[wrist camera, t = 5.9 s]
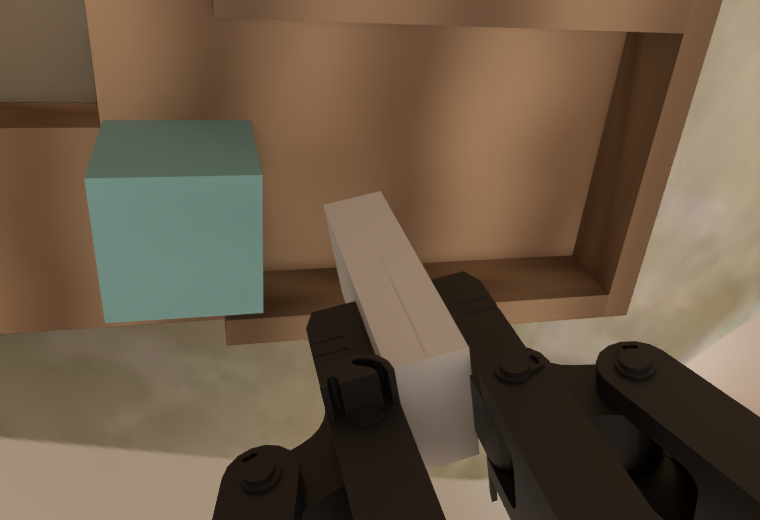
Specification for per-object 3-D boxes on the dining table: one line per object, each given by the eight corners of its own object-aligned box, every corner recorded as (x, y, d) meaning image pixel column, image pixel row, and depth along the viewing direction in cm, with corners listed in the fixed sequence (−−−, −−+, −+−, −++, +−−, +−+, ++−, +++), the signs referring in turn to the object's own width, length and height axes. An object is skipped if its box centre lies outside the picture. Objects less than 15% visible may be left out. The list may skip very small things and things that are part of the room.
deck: (-349, 315, 24) (-478, 428, 19) (-605, -164, 17) (-905, -167, 12) (557, 265, 32) (619, 336, 27) (637, -73, 25) (739, -54, 20)
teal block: (118, 247, 24) (105, 323, 20) (102, 120, 21) (84, 178, 18) (252, 242, 25) (263, 312, 21) (250, 120, 23) (262, 174, 19)
